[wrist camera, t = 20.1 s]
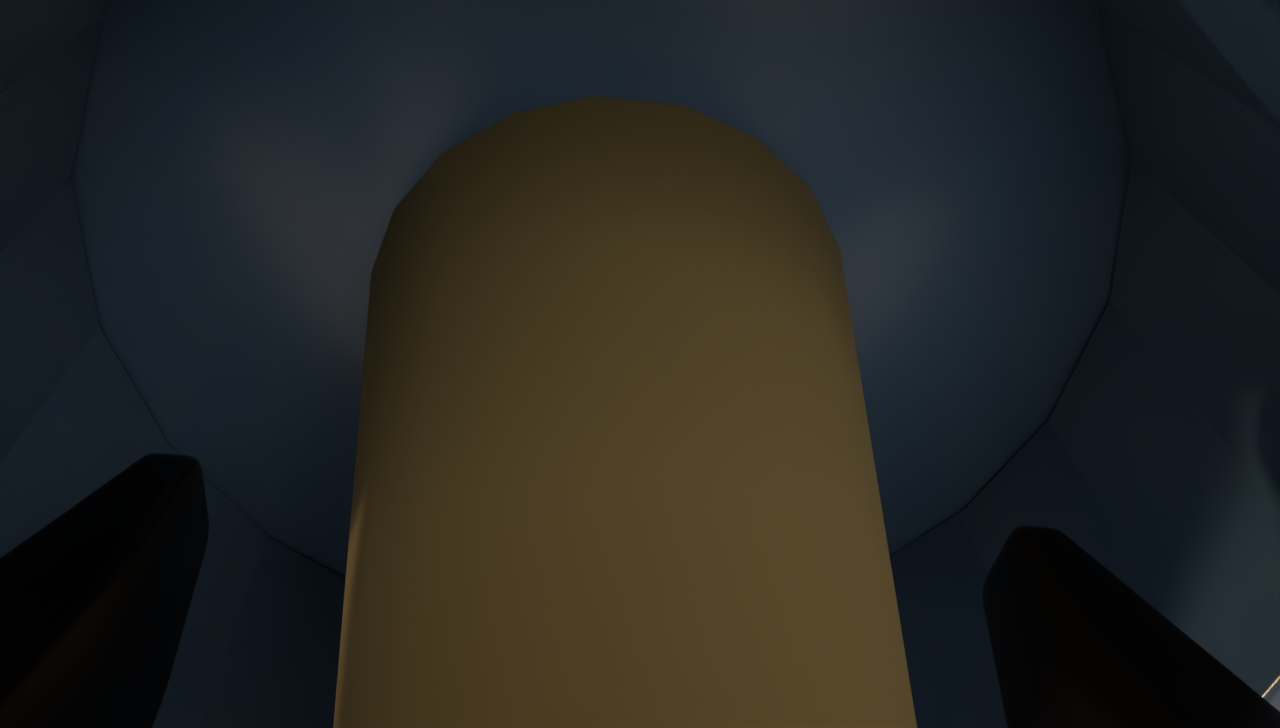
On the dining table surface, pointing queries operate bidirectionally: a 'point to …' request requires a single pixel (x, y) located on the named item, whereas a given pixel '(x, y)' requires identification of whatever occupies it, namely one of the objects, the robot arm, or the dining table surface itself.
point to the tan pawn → (615, 444)
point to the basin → (800, 138)
